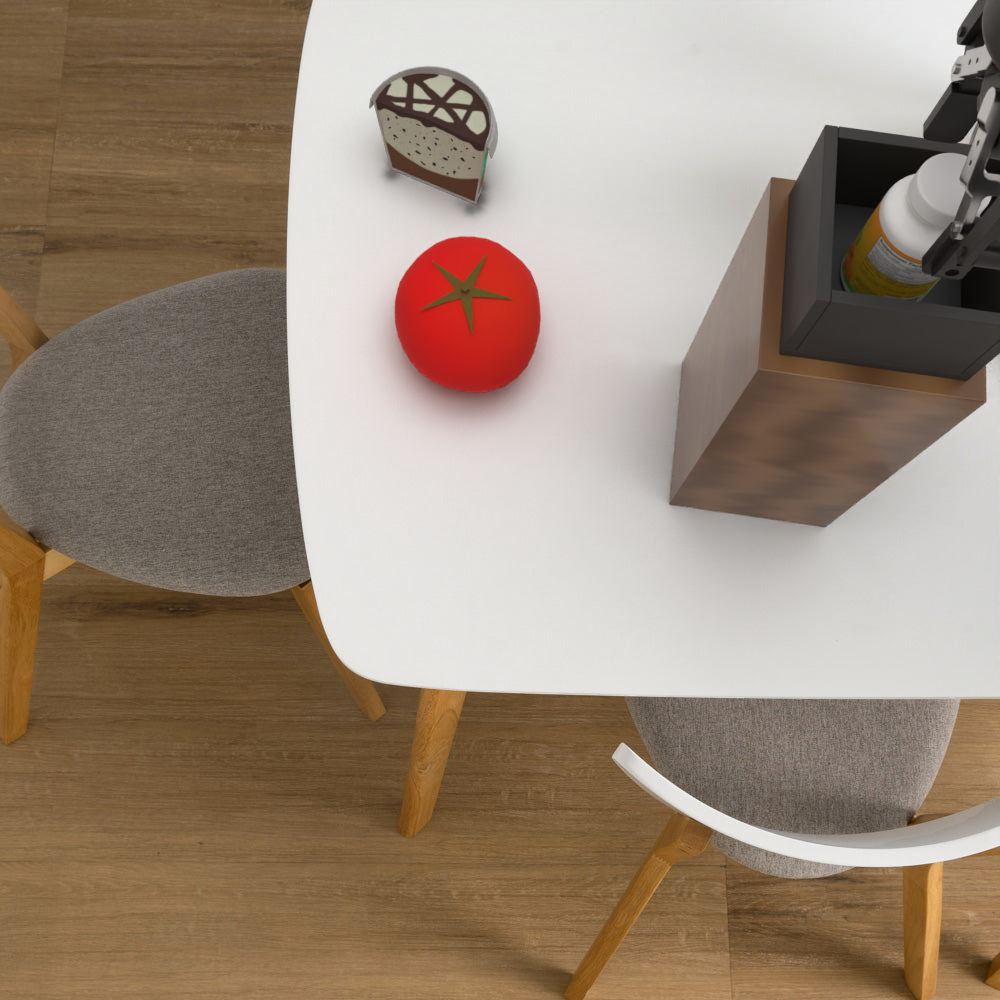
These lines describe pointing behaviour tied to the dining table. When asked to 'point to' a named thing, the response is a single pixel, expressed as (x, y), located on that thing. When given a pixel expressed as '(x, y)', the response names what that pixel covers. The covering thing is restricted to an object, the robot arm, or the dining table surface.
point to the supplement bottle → (906, 232)
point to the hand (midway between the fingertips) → (939, 201)
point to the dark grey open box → (868, 318)
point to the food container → (437, 128)
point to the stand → (792, 402)
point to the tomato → (468, 314)
